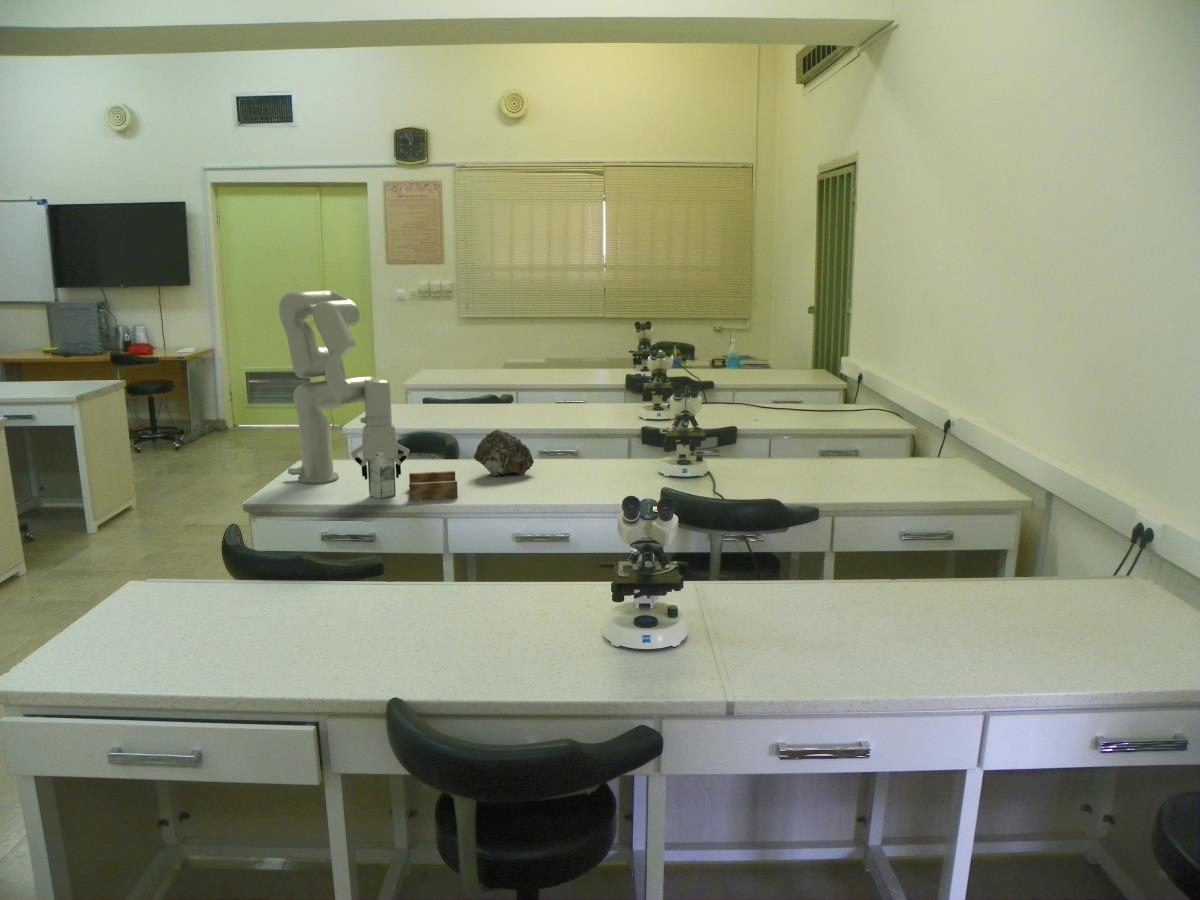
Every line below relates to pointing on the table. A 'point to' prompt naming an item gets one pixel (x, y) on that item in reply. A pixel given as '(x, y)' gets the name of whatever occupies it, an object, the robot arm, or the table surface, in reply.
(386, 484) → the syrup box
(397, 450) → the robot arm
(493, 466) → the rock
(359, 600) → the table surface
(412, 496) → the walnut rack
